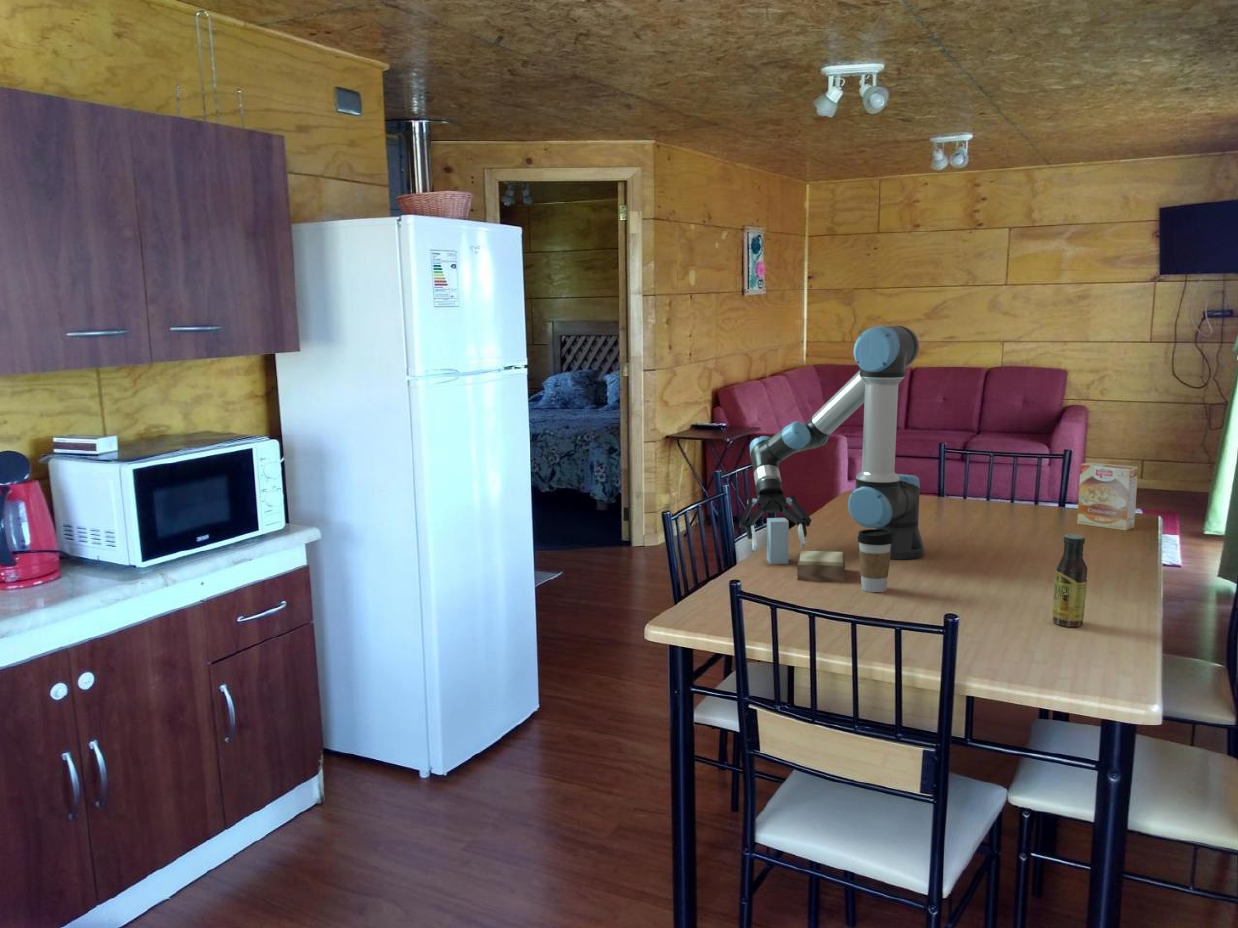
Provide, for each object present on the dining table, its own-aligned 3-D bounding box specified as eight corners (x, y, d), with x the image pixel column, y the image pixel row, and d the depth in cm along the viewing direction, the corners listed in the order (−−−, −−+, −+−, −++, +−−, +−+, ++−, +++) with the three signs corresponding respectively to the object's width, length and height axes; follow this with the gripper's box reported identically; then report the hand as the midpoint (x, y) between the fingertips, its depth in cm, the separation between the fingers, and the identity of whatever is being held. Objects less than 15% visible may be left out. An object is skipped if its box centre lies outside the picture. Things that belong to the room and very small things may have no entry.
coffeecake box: (1076, 524, 300) (1079, 464, 297) (1085, 520, 304) (1088, 461, 301) (1126, 531, 289) (1130, 468, 286) (1134, 527, 293) (1138, 466, 290)
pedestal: (843, 569, 252) (844, 551, 251) (844, 581, 240) (845, 562, 239) (798, 567, 254) (798, 550, 253) (797, 579, 243) (797, 561, 242)
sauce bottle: (1046, 620, 207) (1050, 532, 204) (1073, 618, 207) (1078, 531, 204) (1062, 629, 200) (1067, 539, 197) (1090, 628, 201) (1095, 538, 198)
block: (784, 559, 264) (784, 517, 262) (788, 563, 259) (788, 521, 257) (766, 559, 264) (767, 518, 262) (770, 564, 259) (770, 521, 257)
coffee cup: (893, 594, 228) (894, 535, 225) (857, 593, 229) (858, 534, 227) (890, 585, 236) (891, 527, 234) (855, 584, 238) (856, 526, 235)
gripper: (808, 490, 274) (821, 552, 262) (724, 493, 273) (733, 555, 261) (813, 475, 268) (826, 538, 256) (727, 478, 267) (736, 541, 255)
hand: (779, 547), depth 258 cm, fingers open, 13 cm apart
